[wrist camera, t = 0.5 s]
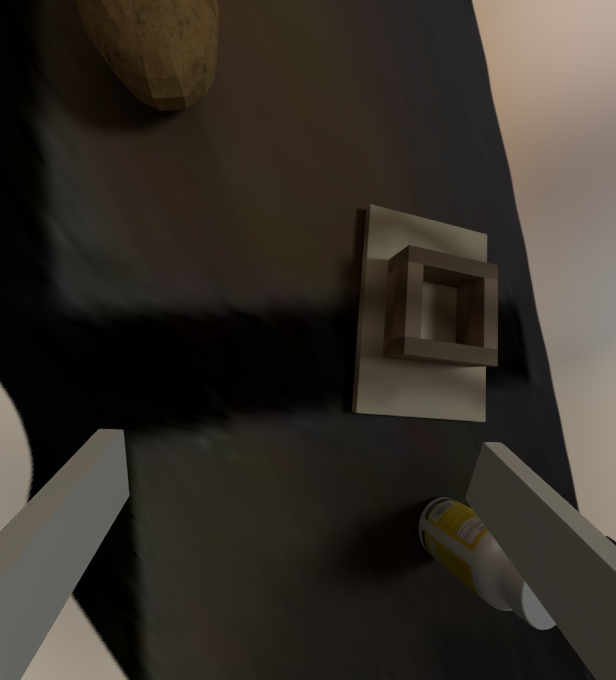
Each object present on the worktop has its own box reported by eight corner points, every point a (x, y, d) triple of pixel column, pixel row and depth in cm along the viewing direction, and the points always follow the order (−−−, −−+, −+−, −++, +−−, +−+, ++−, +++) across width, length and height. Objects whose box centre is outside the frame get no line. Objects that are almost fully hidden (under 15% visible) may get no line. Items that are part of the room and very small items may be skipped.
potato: (109, 144, 25) (59, 42, 17) (94, -10, 26) (40, -170, 18) (231, 151, 28) (234, 65, 20) (213, 11, 29) (209, -121, 21)
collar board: (477, 420, 31) (517, 427, 27) (351, 411, 28) (375, 418, 24) (479, 238, 34) (516, 218, 30) (366, 209, 31) (389, 182, 26)
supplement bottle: (456, 562, 29) (567, 651, 20) (409, 548, 28) (503, 635, 19) (470, 504, 30) (582, 562, 21) (425, 488, 29) (521, 542, 20)
